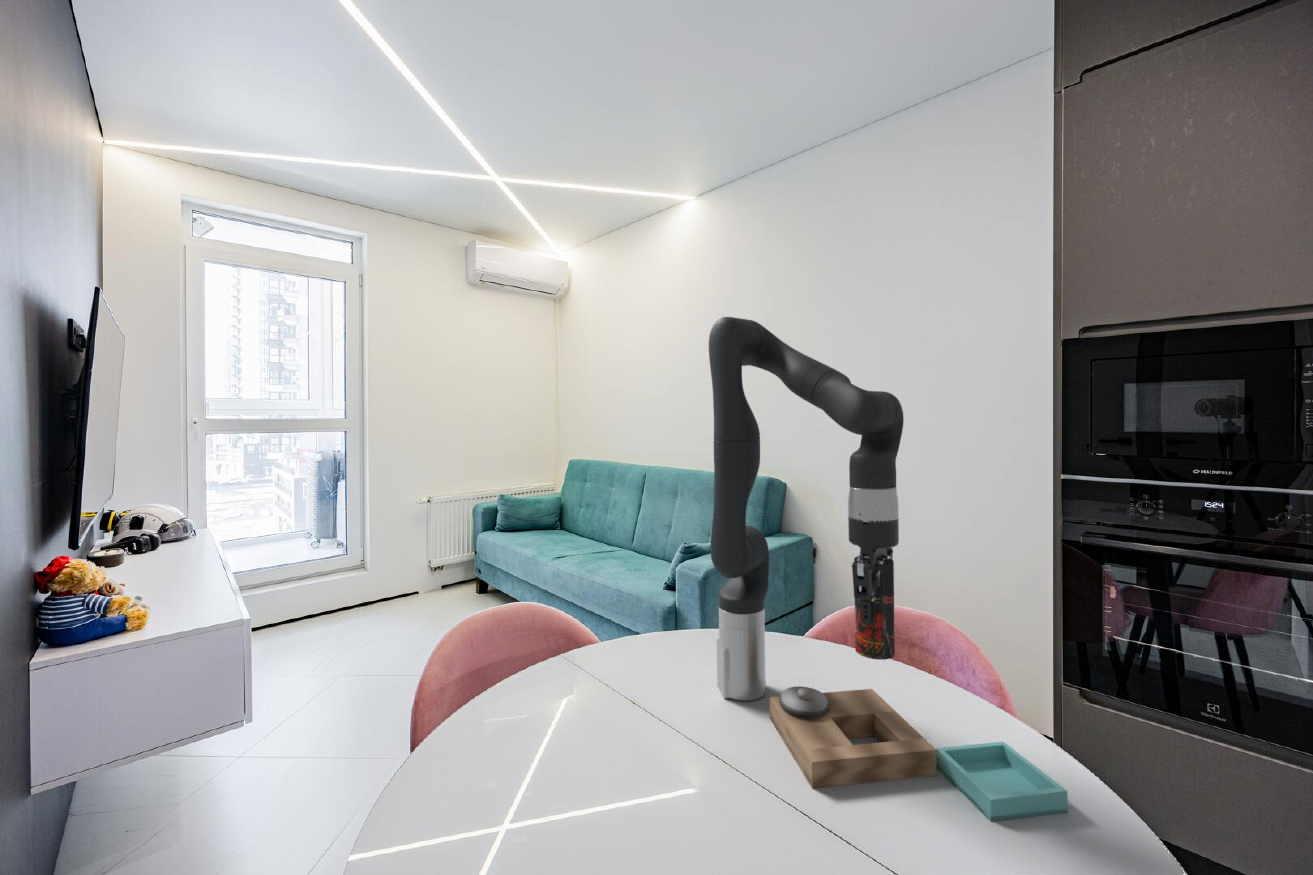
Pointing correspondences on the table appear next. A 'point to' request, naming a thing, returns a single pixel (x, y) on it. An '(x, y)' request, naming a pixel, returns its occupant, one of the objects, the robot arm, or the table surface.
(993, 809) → the tray
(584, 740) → the table surface
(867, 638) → the deodorant
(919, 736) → the block
